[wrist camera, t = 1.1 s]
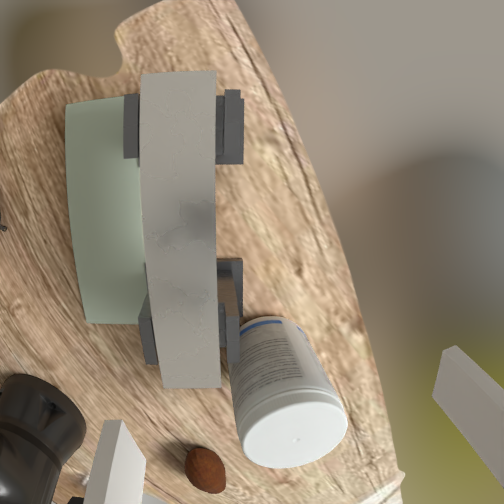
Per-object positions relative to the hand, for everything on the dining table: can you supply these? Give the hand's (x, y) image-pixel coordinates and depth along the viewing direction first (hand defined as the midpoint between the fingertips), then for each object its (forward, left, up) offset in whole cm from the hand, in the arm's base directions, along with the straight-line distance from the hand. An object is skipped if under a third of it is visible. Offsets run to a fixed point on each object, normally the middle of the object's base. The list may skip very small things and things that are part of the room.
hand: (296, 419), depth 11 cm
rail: (-5, +3, -15) cm, 17 cm away
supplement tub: (+3, -13, -24) cm, 27 cm away
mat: (-14, +3, -23) cm, 27 cm away
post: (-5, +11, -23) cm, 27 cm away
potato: (-6, -35, -24) cm, 42 cm away
